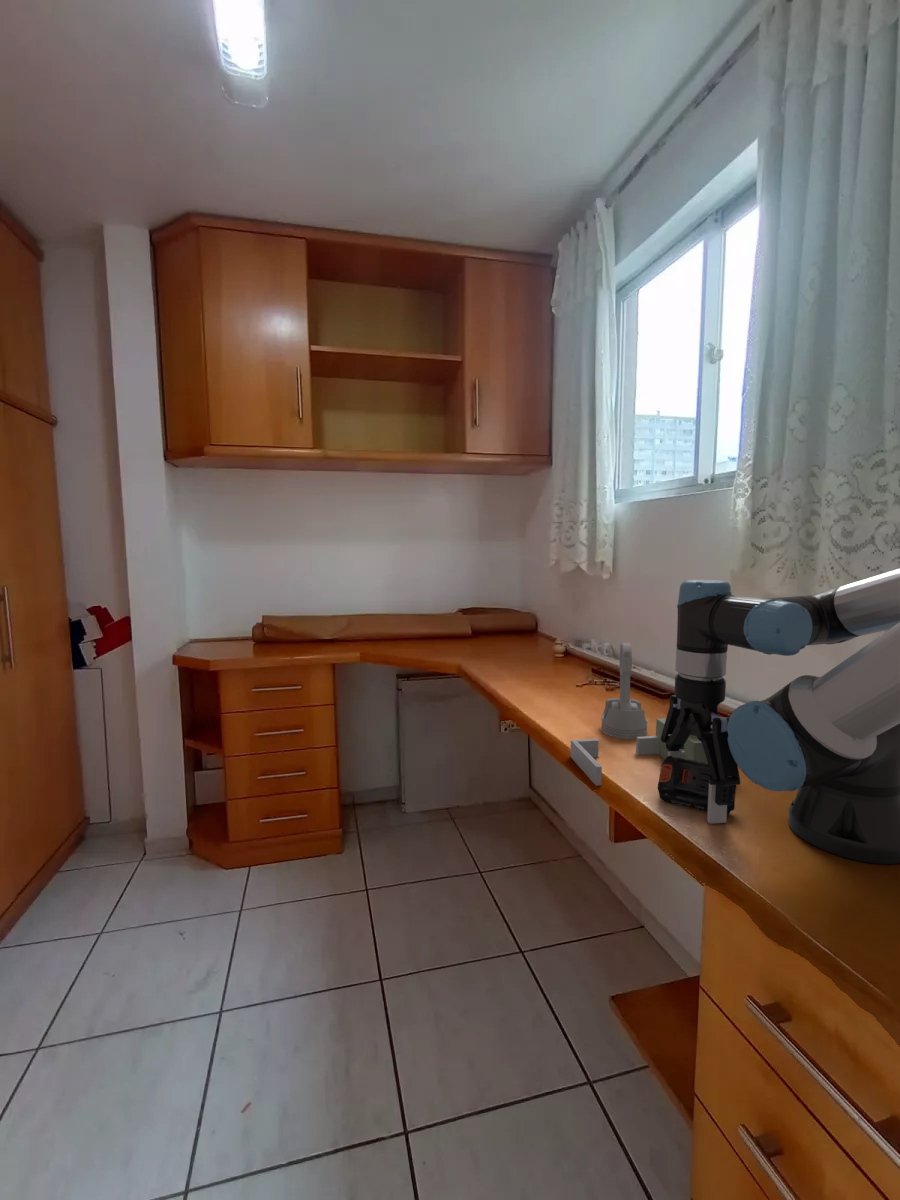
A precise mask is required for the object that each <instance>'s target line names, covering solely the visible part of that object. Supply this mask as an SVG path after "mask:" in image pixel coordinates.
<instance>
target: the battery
mask: <svg viewBox="0 0 900 1200" xmlns="http://www.w3.org/2000/svg"><path fill="white" fill-rule="evenodd" d="M663 759H664V760H662V763H661V766H660V768H659V769H660V771H659V772H660V773H659V777H658V784H657V790H658V796H659V799H660V800H662V801H663V802H666V803H670V804H674V805H677V806H682V807H686V808H691V809H697V810H700V811H703V812H708V793H709V781H711V780H713V779H712V775H711V772H710V769H709V765H708V764H707V763H703V762H696V761H693V760H686V759H682V758H675V757H672V756H668V757H667V758H666V759H665V758H663ZM736 789H737V785H730V786H729V798H728V799H729V800H728V805H727V816H729V814H730V813H731V812H732V811H734V810H735V808H736V807H735V804H736V803H735V801H736Z"/></svg>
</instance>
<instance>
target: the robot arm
mask: <svg viewBox="0 0 900 1200" xmlns="http://www.w3.org/2000/svg"><path fill="white" fill-rule="evenodd" d="M731 587H732V586H731V584H730V583H729V582H728V581H725V580H718V579H717V580H716V579H688V580H687V579H686V580H684V581H682V583H681V584H680V585H679V592H678V593H679V594H678V598H677V600H678V601H677V604H676V608H677V627H676V628H677V629H676V632H677V633H676V648H675V666H674V668H675V670H674V671H675V672H676V673H677V674H676V675H675V676H674V694H671V695H670V696H669V708H668V712H667V715H666V717H665V718H666V721H665V724H664V728H663V731H662V735H661V741H662V742H663V743H666V749H667V750H668V756H672V757H675V758H682V759H685V752H684V751H683V750H682V751H679V749H685V748H683V747H685V746H684V744H685V742H686V741H687V739H688V737H689V736H690V734H691V732H692V731H694V732H695V733H696V735H697V738H698V740H700V741H701V742H702V745H703V749H704V752H705V755H706V759H707V762H708V765H709V769H710V772H711V775H712V779H713V780H711V781H709V793H708V811H707V817H706V819H707V820H706V821H707V823H708V824H709V825H710V824H712V825H713V824H721V823H722V824H723V823H724V824H725V823H727V819H728V818H727V816H728V815H727V805H728V800H729V799H728V798H729V786H730V785H736V786H739V785H741V778H740V773H739V769H740V772H742V773H743V775H744V776H745V777H747V778H748V779H749V780H750V781H751V782H752V783H754V784H756V785H758V786H760V787H761V788H763V789H764V790H767V791H771V792H786V791H789V792H794V791H797V793H796V796H795V798H794V799H792V801H791V803H790V805H789V807H788V817H787V819H788V820H787V823H788V826H789V827H790V829H791V830H792V831H793V833H795V835H796V836H798V837H799V838H801V839H803V841H805V842H807V843H808V844H809V845H810V844H811V845H812V846H815V847H817V848H818V849H821V850H823V851H826V852H828V853H831V854H833V855H837V856H840V857H843V858H847V859H850V860H855V861H857V862H858V861H859V862H865V863H870V864H879V865H893V864H894V865H896V864H900V567H899V568H897V569H892V570H889V571H886V572H883V573H881V574H880V573H879V574H877V575H874V576H871V577H868V578H864V579H861V580H857V581H854V582H851V583H847V584H845V585H841V586H839V587H835V588H832V589H828V590H825V591H822V592H819V593H815V594H810V595H799V596H798V595H795V596H783V597H781V596H779V597H778V596H777V597H764V598H763V597H747V596H739V595H738V596H736V595H732V591H731V590H732V589H731ZM881 632H883V633H882V634H880V635H879V636H878V637H876V638H875V639H874V640H873V639H872V641H870V642H869V643H868V644H866V645H864V646H863V647H862V648H860V649H858V651H856V652H855V653H853V654H852V655H851V656H849V657H847V658H846V659H845V660H843V661H842V662H840V663H839V664H837V665H836V666H835V667H833V668H832V669H830V670H829V671H827V672H826V673H824V674H823V675H821V676H816V675H809V674H806V675H805V674H804V675H801V676H798V677H797V678H795V679H793V680H792V681H790V682H789V683H787V684H786V685H785V686H783V687H781V688H780V689H779V690H778V691H777V692H775V693H774V694H771V696H769V697H767V698H765V699H763V700H760V701H759V700H750V701H749V702H745V703H744V704H741V705H739V706H738V707H736V708H735V709H734V710H733V711H732V713H731V714H730V717H728V716H727V717H723V716H721V715H720V713H719V709H718V707H719V705H720V704H721V703H723V702H724V701H725V700H726V688H727V687H726V686H727V680H726V679H725V678H724V677H725V676H726V675H727V659H728V655H727V654H728V649H729V647H728V646H731V647H732V646H733V647H738V648H741V649H747V650H751V651H754V652H755V651H756V652H759V653H762V654H765V655H778V656H784V657H789V656H795V655H797V654H799V653H800V651H801V650H803V649H805V648H806V647H807V646H818V645H834V644H842V643H844V642H847V641H852V640H854V639H855V638H858V637H862V636H866V635H870V634H876V633H881ZM711 731H712V733H711V734H709V733H710V732H711ZM668 734H671V735H668Z"/></svg>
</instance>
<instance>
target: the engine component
mask: <svg viewBox="0 0 900 1200" xmlns="http://www.w3.org/2000/svg"><path fill="white" fill-rule="evenodd" d="M632 653H633V651H632V646H631V642H621V643H620V647H619V659H618V660H619V698H618V697H611V698H607V699H606V700H605V705H604V710H603V712H602V715H601V732H602V733H603V734H604V735H606V736H609V737H612V738H616V739H617V738H618V739H626V740H636V737H645V736H647V735H648V718H646V716H645V715H646V713H645V710H644V709H642V702H641V701H639V700H636V699H632V698H630V697H631V691H630V690H631V677H632V667H633V654H632Z"/></svg>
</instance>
